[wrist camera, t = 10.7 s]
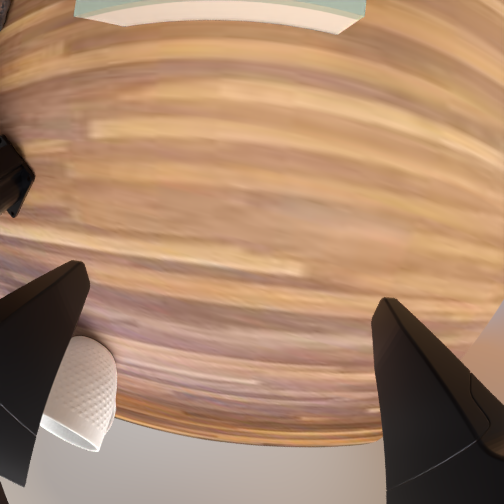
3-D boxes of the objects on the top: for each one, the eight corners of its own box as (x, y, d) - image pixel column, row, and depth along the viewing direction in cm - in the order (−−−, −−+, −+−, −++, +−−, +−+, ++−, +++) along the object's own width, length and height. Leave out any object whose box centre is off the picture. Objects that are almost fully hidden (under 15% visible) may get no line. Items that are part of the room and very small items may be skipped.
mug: (151, 392, 38) (129, 468, 27) (95, 382, 39) (69, 447, 28) (107, 326, 30) (62, 421, 19) (47, 319, 31) (3, 394, 20)
